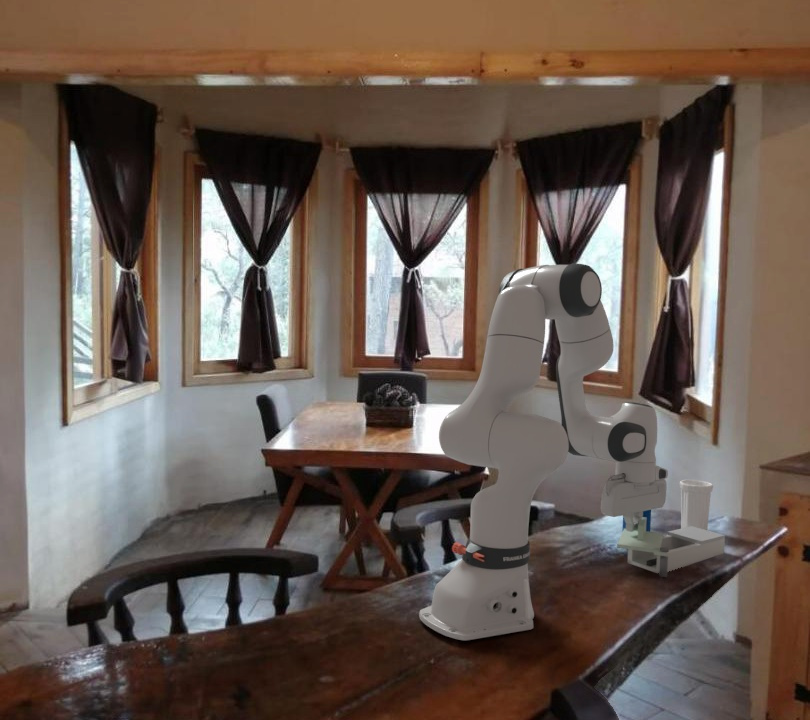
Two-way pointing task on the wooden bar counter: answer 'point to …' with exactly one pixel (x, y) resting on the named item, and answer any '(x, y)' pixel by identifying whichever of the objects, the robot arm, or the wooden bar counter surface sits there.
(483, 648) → the wooden bar counter surface
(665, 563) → the white open box
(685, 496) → the cup
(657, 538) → the cover
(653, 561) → the cord
